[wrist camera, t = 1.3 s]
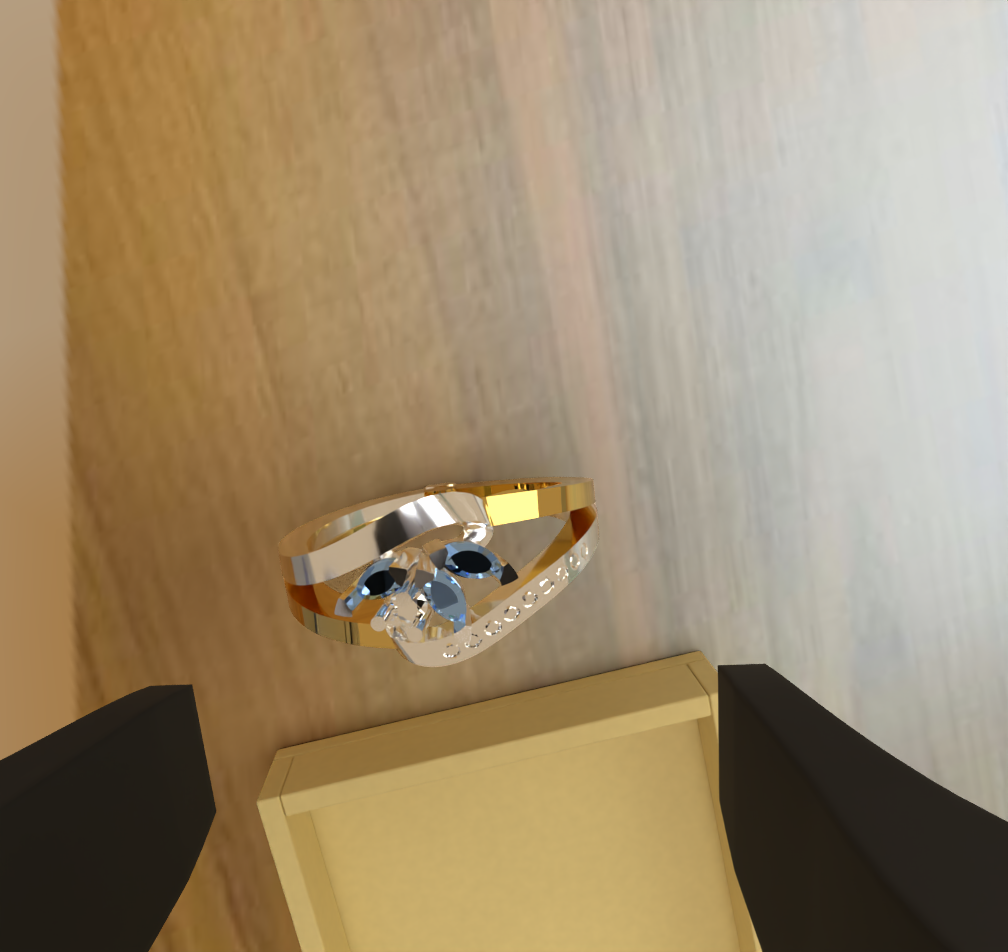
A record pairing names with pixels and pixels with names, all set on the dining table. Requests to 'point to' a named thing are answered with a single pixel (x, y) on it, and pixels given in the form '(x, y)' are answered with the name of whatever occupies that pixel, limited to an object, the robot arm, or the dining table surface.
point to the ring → (435, 565)
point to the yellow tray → (517, 824)
